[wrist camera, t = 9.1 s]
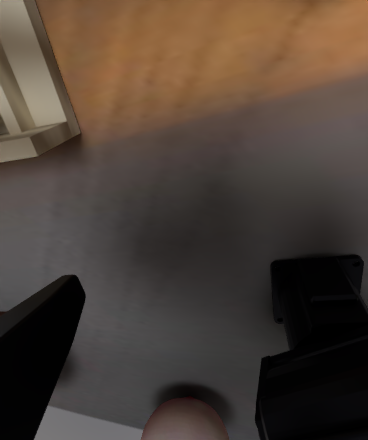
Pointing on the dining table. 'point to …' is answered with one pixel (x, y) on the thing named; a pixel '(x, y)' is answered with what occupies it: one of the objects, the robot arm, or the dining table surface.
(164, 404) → the decorative fruit
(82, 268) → the dining table surface
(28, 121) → the roll cradle
